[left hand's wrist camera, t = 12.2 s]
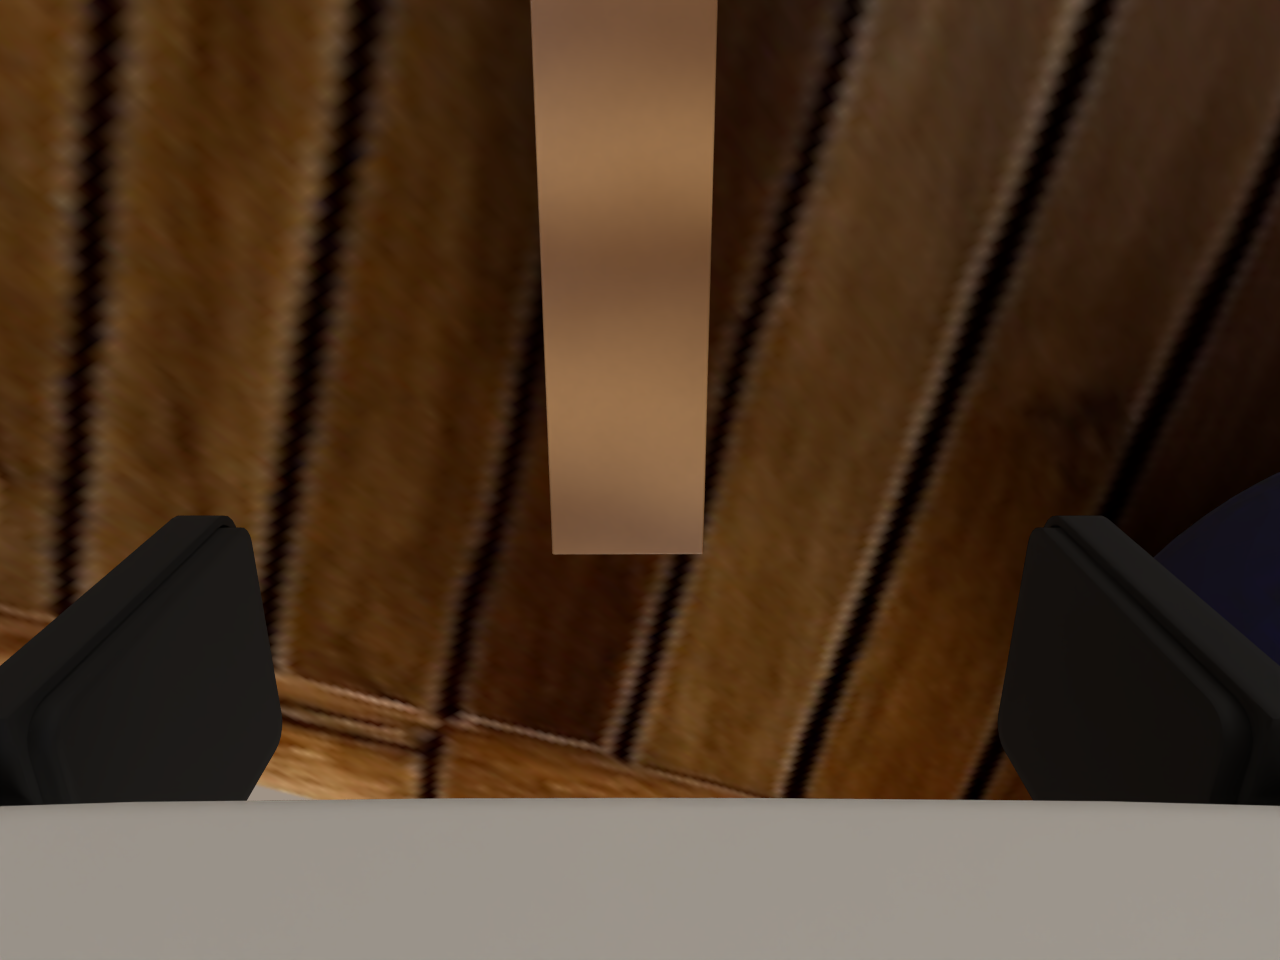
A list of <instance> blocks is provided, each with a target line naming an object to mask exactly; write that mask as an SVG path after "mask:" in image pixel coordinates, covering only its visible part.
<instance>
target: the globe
mask: <svg viewBox="0 0 1280 960" xmlns="http://www.w3.org/2000/svg"><path fill="white" fill-rule="evenodd" d="M1153 558H1154V559H1155V560H1157V561H1158V562H1159V563H1160V564H1161V565H1162V566H1164V567H1165V568H1166V569H1167V570H1168V571H1169V572H1171V573H1172V574H1173V575H1174V576H1175V577H1176V578H1178V579H1179V580H1180V581H1181V582H1182V583H1183V584H1185V585H1186V586H1187V587H1188V588H1189V589H1190V590H1192V591H1193V592H1194V593H1195V594H1196V595H1197V596H1199V597H1200V598H1201V599H1202V600H1203V601H1204V602H1206V603H1207V604H1208V605H1209V606H1210V607H1211V608H1213V609H1214V610H1215V611H1216V612H1217V613H1218V614H1220V615H1221V616H1222V617H1223V618H1224V619H1225V620H1227V621H1228V622H1229V623H1230V624H1231V625H1232V626H1234V627H1235V628H1236V629H1237V630H1238V631H1239V632H1241V633H1242V634H1243V635H1244V636H1245V637H1246V638H1248V639H1249V640H1250V641H1251V642H1252V643H1253V644H1255V645H1256V646H1257V647H1258V648H1259V649H1260V650H1262V651H1263V652H1264V653H1265V654H1266V655H1267V656H1269V657H1270V658H1271V659H1272V660H1273V661H1274V662H1276V663H1277V664H1278V665H1279V666H1280V472H1278V473H1276V474H1274V475H1272V476H1270V477H1268V478H1266V479H1264V480H1262V481H1260V482H1258V483H1257V484H1255V485H1253V486H1251V487H1249V488H1248V489H1246V490H1244V491H1242V492H1241V493H1239V494H1237V495H1235V496H1234V497H1232V498H1230V499H1229V500H1227V501H1226V502H1224V503H1223V504H1221V505H1220V506H1218V507H1217V508H1215V509H1214V510H1212V511H1211V512H1209V513H1208V514H1206V515H1205V516H1204V517H1202V518H1201V519H1199V520H1198V521H1197V522H1195V523H1194V524H1193V525H1192V526H1190V527H1189V528H1188V529H1186V530H1185V531H1184V532H1182V533H1181V534H1180V535H1178V536H1177V537H1176V538H1175V539H1173V540H1172V541H1171V542H1170V543H1169V544H1168V545H1167V546H1166V547H1165V548H1163V549H1162V550H1161V551H1160V552H1159V553H1158V554H1157V555H1156V556H1154V557H1153Z"/></svg>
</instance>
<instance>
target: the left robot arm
mask: <svg viewBox="0 0 1280 960" xmlns="http://www.w3.org/2000/svg"><path fill="white" fill-rule="evenodd" d="M281 731H282V714H281V708H280V703H279V697H278V691H277V685H276V679H275V674H274V668H273V662H272V656H271V651H270V645H269V639H268V633H267V627H266V622H265V616H264V610H263V604H262V599H261V593H260V587H259V581H258V576H257V570H256V564H255V558H254V552H253V547H252V542H251V538H250V535H249V533H248V531H247V530H246V529H245V528H236V526H235V524H234V522H233V520H232V519H230V518H229V517H228V516H176V517H174V518H172V519H171V520H170V521H169V522H168V523H167V524H165V525H164V526H163V527H162V528H161V529H160V530H158V531H157V532H156V533H155V534H154V535H153V536H151V537H150V538H149V539H148V540H147V541H146V542H144V543H143V544H142V545H141V546H140V547H139V548H137V549H136V550H135V551H134V552H133V553H132V554H130V555H129V556H128V557H127V558H126V559H125V560H123V561H122V562H121V563H120V564H119V565H118V566H116V567H115V568H114V569H113V570H112V571H111V572H109V573H108V574H107V575H106V576H105V577H104V578H102V579H101V580H100V581H99V582H98V583H97V584H95V585H94V586H93V587H92V588H91V589H90V590H88V591H87V592H86V593H85V594H84V595H83V596H81V597H80V598H79V599H78V600H77V601H76V602H74V603H73V604H72V605H71V606H70V607H69V608H67V609H66V610H65V611H64V612H63V613H62V614H60V615H59V616H58V617H57V618H56V619H55V620H53V621H52V622H51V623H50V624H49V625H48V626H46V627H45V628H44V629H43V630H42V631H41V632H39V633H38V634H37V635H36V636H35V637H34V638H32V639H31V640H30V641H29V642H28V643H27V644H25V645H24V646H23V647H22V648H21V649H20V650H18V651H17V652H16V653H15V654H14V655H13V656H11V657H10V658H9V659H8V660H7V661H6V662H4V663H3V664H2V665H1V666H0V960H1280V666H1279V665H1278V664H1277V663H1276V662H1274V661H1273V660H1272V659H1271V658H1270V657H1269V656H1267V655H1266V654H1265V653H1264V652H1263V651H1262V650H1260V649H1259V648H1258V647H1257V646H1256V645H1255V644H1253V643H1252V642H1251V641H1250V640H1249V639H1248V638H1246V637H1245V636H1244V635H1243V634H1242V633H1241V632H1239V631H1238V630H1237V629H1236V628H1235V627H1234V626H1232V625H1231V624H1230V623H1229V622H1228V621H1227V620H1225V619H1224V618H1223V617H1222V616H1221V615H1220V614H1218V613H1217V612H1216V611H1215V610H1214V609H1213V608H1211V607H1210V606H1209V605H1208V604H1207V603H1206V602H1204V601H1203V600H1202V599H1201V598H1200V597H1199V596H1197V595H1196V594H1195V593H1194V592H1193V591H1192V590H1190V589H1189V588H1188V587H1187V586H1186V585H1185V584H1183V583H1182V582H1181V581H1180V580H1179V579H1178V578H1176V577H1175V576H1174V575H1173V574H1172V573H1171V572H1169V571H1168V570H1167V569H1166V568H1165V567H1164V566H1162V565H1161V564H1160V563H1159V562H1158V561H1157V560H1155V559H1154V558H1153V557H1152V556H1151V555H1150V554H1148V553H1147V552H1146V551H1145V550H1144V549H1143V548H1141V547H1140V546H1139V545H1138V544H1137V543H1136V542H1134V541H1133V540H1132V539H1131V538H1130V537H1129V536H1127V535H1126V534H1125V533H1124V532H1123V531H1122V530H1120V529H1119V528H1118V527H1117V526H1116V525H1115V524H1113V523H1112V522H1111V521H1110V520H1109V519H1108V518H1106V517H1104V516H1052V517H1051V518H1050V519H1048V520H1047V522H1046V524H1045V526H1044V528H1035V529H1034V530H1033V531H1032V533H1031V535H1030V538H1029V542H1028V547H1027V552H1026V558H1025V564H1024V570H1023V576H1022V581H1021V587H1020V593H1019V599H1018V604H1017V610H1016V616H1015V622H1014V627H1013V633H1012V639H1011V645H1010V651H1009V656H1008V662H1007V668H1006V674H1005V679H1004V685H1003V691H1002V697H1001V703H1000V708H999V714H998V731H999V737H1000V741H1001V744H1002V746H1003V749H1004V751H1005V752H1006V754H1007V756H1008V757H1009V759H1010V761H1011V763H1012V764H1013V766H1014V768H1015V770H1016V771H1017V773H1018V775H1019V777H1020V778H1021V780H1022V782H1023V783H1024V785H1025V787H1026V789H1027V790H1028V792H1029V794H1030V796H1031V797H1032V799H1033V801H1011V800H895V799H779V798H463V799H367V800H277V801H276V800H275V801H247V799H248V797H249V796H250V794H251V792H252V790H253V789H254V787H255V785H256V783H257V782H258V780H259V778H260V777H261V775H262V773H263V771H264V770H265V768H266V766H267V764H268V763H269V761H270V759H271V757H272V756H273V754H274V752H275V751H276V749H277V746H278V744H279V741H280V737H281Z"/></svg>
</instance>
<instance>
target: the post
mask: <svg viewBox="0 0 1280 960" xmlns="http://www.w3.org/2000/svg"><path fill="white" fill-rule="evenodd" d="M717 9H718V0H530V14H531V39H532V63H533V88H534V113H535V137H536V162H537V186H538V211H539V236H540V260H541V285H542V310H543V334H544V359H545V384H546V408H547V433H548V457H549V482H550V507H551V531H552V553H553V554H702V553H703V532H704V494H705V457H706V420H707V382H708V345H709V308H710V270H711V233H712V196H713V158H714V121H715V84H716V46H717Z"/></svg>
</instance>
